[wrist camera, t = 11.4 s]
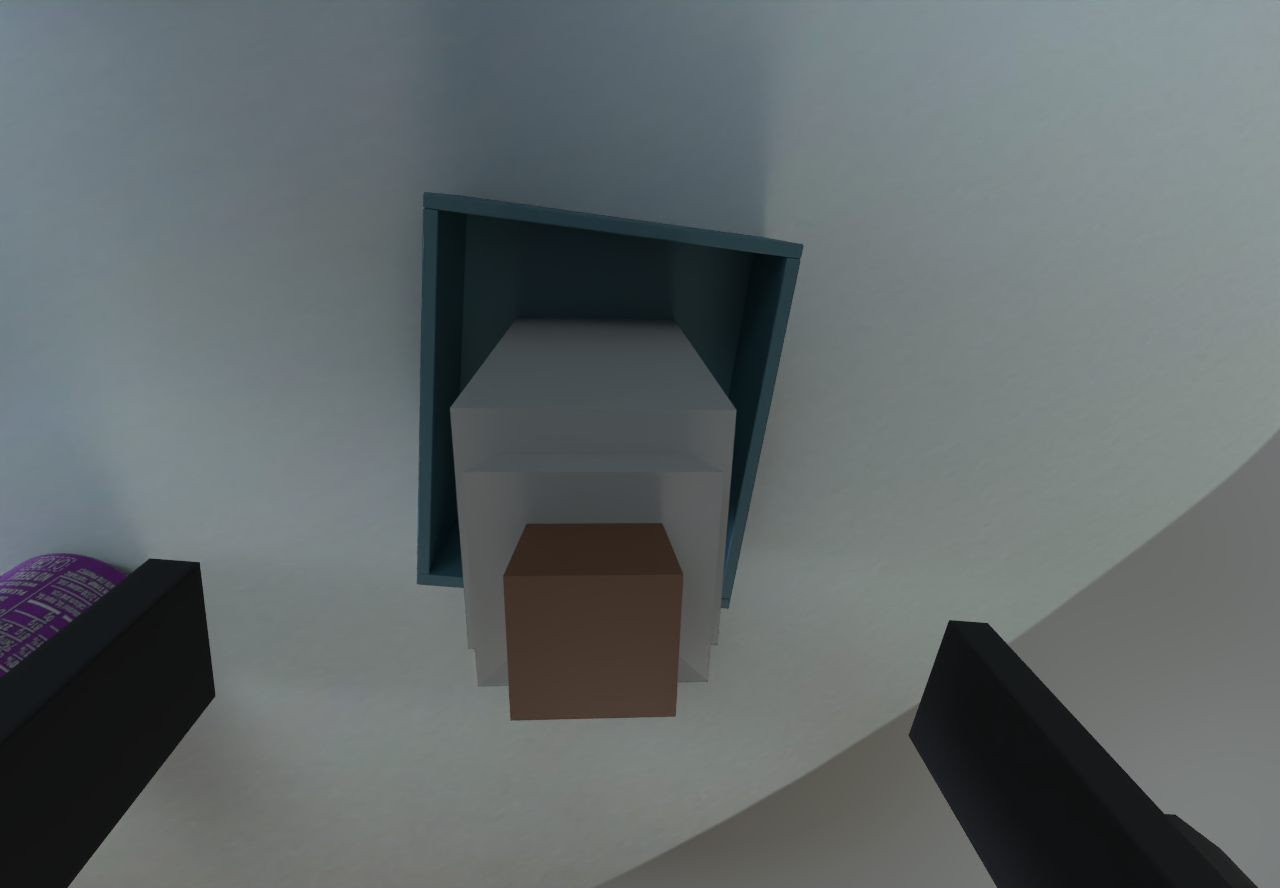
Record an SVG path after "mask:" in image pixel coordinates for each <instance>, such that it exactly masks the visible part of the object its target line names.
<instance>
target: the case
mask: <svg viewBox="0 0 1280 888" xmlns="http://www.w3.org/2000/svg"><path fill="white" fill-rule="evenodd" d="M423 206H424V209H423V254H422V312H421V370H420V429H419V487H418V546H417V584H421V585H434V586H447V587H459V588H464V583H463V570H462V557H461V544H460V531H459V518H458V505H457V493H456V480H455V467H454V454H453V441H452V428H451V415H450V407H451V406H452V405H453V403H454V402H455V401H456V399H457V398H458V397H459V395H460V394H461V392H462V391H463V390H464V388H465V387H466V386H467V384H468V383H469V382H470V380H471V379H472V378H473V376H474V375H475V374H476V372H477V371H478V370H479V368H480V367H481V366H482V364H483V363H484V362H485V360H486V359H487V358H488V356H489V355H490V354H491V352H492V351H493V350H494V348H495V347H496V345H497V344H498V343H499V341H500V340H501V339H502V337H503V336H504V335H505V333H506V332H507V331H508V329H509V328H510V327H511V325H512V324H513V323H514V321H515V320H516V319H517V317H553V318H611V319H670V320H675V322H676V323H677V325H678V326H679V327H680V329H681V330H682V332H683V333H684V335H685V336H686V338H687V339H688V340H689V342H690V343H691V345H692V346H693V348H694V349H695V351H696V352H697V354H698V355H699V356H700V358H701V359H702V361H703V362H704V364H705V365H706V367H707V368H708V370H709V371H710V372H711V374H712V375H713V377H714V378H715V380H716V381H717V383H718V384H719V385H720V387H721V388H722V390H723V391H724V393H725V394H726V396H727V397H728V399H729V400H730V401H731V403H732V404H733V406H734V407H735V409H736V410H737V411H736V423H735V435H734V448H733V460H732V472H731V484H730V497H729V509H728V521H727V534H726V546H725V558H724V571H723V583H722V595H721V608H729V603H730V598H731V593H732V588H733V584H734V579H735V574H736V569H737V564H738V559H739V555H740V550H741V545H742V540H743V535H744V530H745V526H746V521H747V516H748V511H749V506H750V501H751V497H752V492H753V487H754V482H755V477H756V472H757V468H758V463H759V458H760V453H761V448H762V443H763V439H764V434H765V429H766V424H767V419H768V414H769V410H770V405H771V400H772V395H773V390H774V385H775V381H776V376H777V371H778V366H779V361H780V356H781V352H782V347H783V342H784V337H785V332H786V327H787V323H788V318H789V313H790V308H791V303H792V298H793V294H794V289H795V284H796V279H797V274H798V269H799V265H800V258H801V255H802V250H803V244H798V243H792V242H787V241H781V240H775V239H769V238H763V237H756V236H749V235H742V234H734V233H727V232H720V231H713V230H705V229H698V228H691V227H684V226H677V225H669V224H662V223H655V222H648V221H640V220H633V219H626V218H619V217H611V216H604V215H597V214H590V213H583V212H575V211H568V210H561V209H554V208H546V207H539V206H532V205H525V204H517V203H510V202H503V201H496V200H489V199H481V198H474V197H467V196H460V195H450V194H439V193H429V192H424V195H423Z"/></svg>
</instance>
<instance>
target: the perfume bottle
mask: <svg viewBox="0 0 1280 888" xmlns="http://www.w3.org/2000/svg"><path fill="white" fill-rule="evenodd" d="M736 411H737V410H736V409H735V407H734V406H733V404H732V403H731V401H730V400H729V399H728V397H727V396H726V394H725V393H724V391H723V390H722V388H721V387H720V385H719V384H718V383H717V381H716V380H715V378H714V377H713V375H712V374H711V372H710V371H709V370H708V368H707V367H706V365H705V364H704V362H703V361H702V359H701V358H700V356H699V355H698V354H697V352H696V351H695V349H694V348H693V346H692V345H691V343H690V342H689V340H688V339H687V338H686V336H685V335H684V333H683V332H682V330H681V329H680V327H679V326H678V325H677V323H676V322H675V320H670V319H611V318H553V317H517V319H516V320H515V321H514V323H513V324H512V325H511V327H510V328H509V329H508V331H507V332H506V333H505V335H504V336H503V337H502V339H501V340H500V341H499V343H498V344H497V345H496V347H495V348H494V350H493V351H492V352H491V354H490V355H489V356H488V358H487V359H486V360H485V362H484V363H483V364H482V366H481V367H480V368H479V370H478V371H477V372H476V374H475V375H474V376H473V378H472V379H471V380H470V382H469V383H468V384H467V386H466V387H465V388H464V390H463V391H462V392H461V394H460V395H459V397H458V398H457V399H456V401H455V402H454V403H453V405H452V406H451V407H450V415H451V428H452V441H453V454H454V467H455V480H456V493H457V505H458V518H459V531H460V544H461V557H462V570H463V583H464V596H465V609H466V622H467V635H468V648H469V649H475V653H476V666H477V680H478V686H509V699H510V718H511V720H550V719H591V718H632V717H674V716H676V698H677V682H708V672H709V659H710V646H711V645H718V632H719V620H720V608H721V595H722V583H723V571H724V558H725V546H726V534H727V521H728V509H729V497H730V484H731V472H732V460H733V448H734V435H735V423H736Z"/></svg>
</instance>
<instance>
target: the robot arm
mask: <svg viewBox="0 0 1280 888" xmlns="http://www.w3.org/2000/svg"><path fill="white" fill-rule="evenodd" d="M214 697H215V688H214V680H213V671H212V663H211V655H210V646H209V638H208V629H207V621H206V613H205V604H204V596H203V587H202V579H201V571H200V562H187V561H174V560H162V559H149V560H147V561H146V562H145V563H144V564H142V565H141V566H140V567H139V568H137V569H136V570H135V571H134V572H132V573H131V574H130V575H129V576H127V577H126V578H125V579H124V580H122V581H121V582H120V583H119V584H117V585H116V586H115V587H114V588H112V589H111V590H110V591H109V592H107V593H106V594H105V595H104V596H102V597H101V598H100V599H99V600H97V601H96V602H95V603H94V604H92V605H91V606H90V607H89V608H87V609H86V610H85V611H84V612H82V613H81V614H80V615H78V616H77V617H76V618H75V619H73V620H72V621H71V622H70V623H68V624H67V625H66V626H65V627H63V628H62V629H61V630H60V631H58V632H57V633H56V634H55V635H53V636H52V637H51V638H50V639H48V640H47V641H46V642H45V643H43V644H42V645H41V646H40V647H38V648H37V649H36V650H35V651H33V652H32V653H31V654H30V655H28V656H27V657H26V658H25V659H23V660H22V661H21V662H20V663H18V664H17V665H16V666H15V667H13V668H12V669H11V670H10V671H8V672H7V673H6V674H5V675H3V676H2V677H1V678H0V888H67V887H68V886H69V885H70V884H71V882H72V881H73V880H74V878H75V877H76V876H77V875H78V873H79V872H80V871H81V869H82V868H83V867H84V865H85V864H86V863H87V862H88V860H89V859H90V858H91V856H92V855H93V854H94V853H95V851H96V850H97V849H98V847H99V846H100V845H101V843H102V842H103V841H104V840H105V838H106V837H107V836H108V834H109V833H110V832H111V830H112V829H113V828H114V827H115V825H116V824H117V823H118V821H119V820H120V819H121V818H122V816H123V815H124V814H125V812H126V811H127V810H128V808H129V807H130V806H131V805H132V803H133V802H134V801H135V799H136V798H137V797H138V796H139V794H140V793H141V792H142V790H143V789H144V788H145V786H146V785H147V784H148V783H149V781H150V780H151V779H152V777H153V776H154V775H155V774H156V772H157V771H158V770H159V768H160V767H161V766H162V764H163V763H164V762H165V761H166V759H167V758H168V757H169V755H170V754H171V753H172V752H173V750H174V749H175V748H176V746H177V745H178V744H179V742H180V741H181V740H182V739H183V737H184V736H185V735H186V733H187V732H188V731H189V730H190V728H191V727H192V726H193V724H194V723H195V722H196V720H197V719H198V718H199V717H200V715H201V714H202V713H203V711H204V710H205V709H206V708H207V706H208V705H209V704H210V702H211V701H212V700H213V698H214ZM909 737H910V739H911V740H912V742H913V744H914V746H915V747H916V749H917V751H918V752H919V754H920V756H921V758H922V759H923V761H924V763H925V764H926V766H927V768H928V770H929V771H930V773H931V775H932V776H933V778H934V780H935V782H936V783H937V785H938V787H939V788H940V790H941V792H942V794H943V795H944V797H945V799H946V800H947V802H948V804H949V806H950V807H951V809H952V811H953V812H954V814H955V816H956V818H957V819H958V821H959V823H960V825H961V826H962V828H963V830H964V831H965V833H966V835H967V837H968V838H969V840H970V842H971V843H972V845H973V847H974V848H975V850H976V852H977V854H978V855H979V857H980V859H981V860H982V862H983V864H984V866H985V867H986V869H987V871H988V873H989V874H990V876H991V878H992V879H993V881H994V883H995V885H996V886H997V888H1258V887H1257V886H1256V885H1255V884H1254V883H1253V882H1252V881H1251V880H1250V879H1249V878H1248V877H1247V876H1246V875H1245V874H1244V873H1243V872H1242V871H1241V870H1240V869H1239V868H1238V866H1237V865H1236V864H1235V863H1234V862H1233V861H1232V860H1231V859H1230V858H1229V857H1228V856H1227V855H1226V854H1225V853H1224V852H1223V851H1222V850H1221V849H1220V848H1219V847H1217V846H1216V845H1215V844H1213V843H1212V842H1211V841H1209V840H1208V839H1207V838H1205V837H1204V836H1203V835H1201V834H1200V833H1199V832H1197V831H1196V830H1195V829H1194V828H1192V827H1191V826H1189V825H1188V824H1187V823H1186V822H1184V821H1183V820H1182V819H1180V818H1179V817H1178V816H1176V815H1170V814H1164V813H1163V812H1162V811H1161V810H1160V809H1159V808H1158V807H1157V806H1156V805H1155V804H1154V802H1153V801H1152V800H1151V799H1150V798H1149V797H1148V796H1147V795H1146V794H1145V793H1144V792H1143V790H1142V789H1141V788H1140V787H1139V786H1138V785H1137V784H1136V783H1135V782H1134V781H1133V780H1132V779H1131V778H1130V776H1129V775H1128V774H1127V773H1126V772H1125V771H1124V770H1123V769H1122V768H1121V767H1120V766H1119V765H1118V763H1116V761H1115V760H1114V759H1113V758H1112V757H1111V756H1110V755H1109V754H1108V753H1107V752H1106V751H1105V749H1104V748H1103V747H1102V746H1101V745H1100V744H1099V743H1098V742H1097V741H1096V740H1095V739H1094V738H1093V736H1092V735H1091V734H1090V733H1089V732H1088V731H1087V730H1086V729H1085V728H1084V727H1083V726H1082V725H1081V723H1080V722H1079V721H1078V720H1077V719H1076V718H1075V717H1074V716H1073V715H1072V714H1071V713H1070V712H1069V711H1068V710H1067V708H1066V707H1065V706H1064V705H1063V704H1062V703H1061V702H1060V701H1059V700H1058V699H1057V698H1056V697H1055V695H1054V694H1053V693H1052V692H1051V691H1050V690H1049V689H1048V688H1047V687H1046V686H1045V685H1044V684H1043V682H1042V681H1041V680H1040V679H1039V678H1038V677H1037V676H1036V675H1035V674H1034V673H1033V672H1032V671H1031V669H1030V668H1029V667H1027V665H1026V664H1025V663H1024V662H1023V661H1022V660H1021V659H1020V658H1019V657H1018V655H1017V654H1016V653H1015V652H1014V651H1013V650H1012V649H1011V648H1010V647H1009V646H1008V645H1007V644H1006V642H1005V641H1004V640H1003V639H1002V638H1001V637H1000V636H999V635H998V634H997V633H996V632H995V631H994V629H993V628H992V627H991V626H990V625H989V624H988V623H978V622H965V621H952V620H949V622H948V625H947V628H946V631H945V634H944V637H943V639H942V642H941V645H940V648H939V651H938V654H937V656H936V659H935V662H934V665H933V668H932V671H931V673H930V676H929V679H928V682H927V685H926V688H925V690H924V693H923V696H922V699H921V702H920V705H919V708H918V711H917V713H916V716H915V719H914V722H913V725H912V727H911V731H910V733H909Z"/></svg>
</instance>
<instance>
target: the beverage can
mask: <svg viewBox="0 0 1280 888" xmlns="http://www.w3.org/2000/svg"><path fill="white" fill-rule="evenodd" d="M126 577H127V575H126V574H124V573H123V572H121V571H120V570H118V569H116V568H115V567H113V566H111V565H109V564H106V563H104V562H102V561H99V560H97V559H93V558H90V557H86V556H82V555H76V554H66V553H56V554H46V555H41V556H37V557H34V558H31V559H29V560H27V561H25V562H23V563H21V564H19V565H18V566H16V567H15V568H13V569H11V570H10V571H8V572H6V573H5V574H3V575H2V576H0V678H1V677H2V676H3V675H5V674H6V673H7V672H8V671H10V670H11V669H12V668H13V667H15V666H16V665H17V664H18V663H20V662H21V661H22V660H23V659H25V658H26V657H27V656H28V655H30V654H31V653H32V652H33V651H35V650H36V649H37V648H38V647H40V646H41V645H42V644H43V643H45V642H46V641H47V640H48V639H50V638H51V637H52V636H53V635H55V634H56V633H57V632H58V631H60V630H61V629H62V628H63V627H65V626H66V625H67V624H68V623H70V622H71V621H72V620H73V619H75V618H76V617H77V616H78V615H80V614H81V613H82V612H84V611H85V610H86V609H87V608H89V607H90V606H91V605H92V604H94V603H95V602H96V601H97V600H99V599H100V598H101V597H102V596H104V595H105V594H106V593H107V592H109V591H110V590H111V589H112V588H114V587H115V586H116V585H117V584H119V583H120V582H121V581H122V580H124V579H125V578H126Z"/></svg>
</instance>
